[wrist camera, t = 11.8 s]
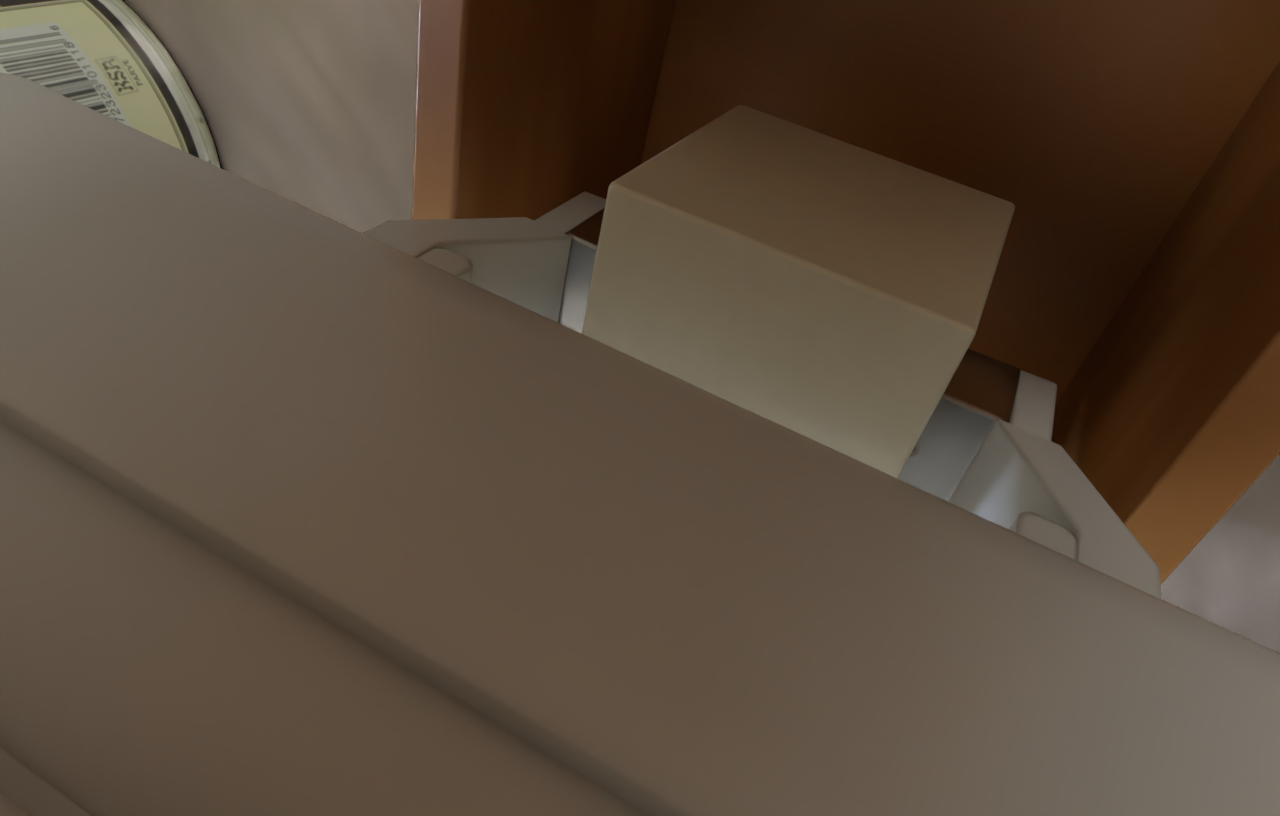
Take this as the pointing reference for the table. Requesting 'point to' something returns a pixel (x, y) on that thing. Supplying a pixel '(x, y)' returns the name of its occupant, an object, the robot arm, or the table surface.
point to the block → (798, 279)
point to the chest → (961, 152)
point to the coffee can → (104, 67)
